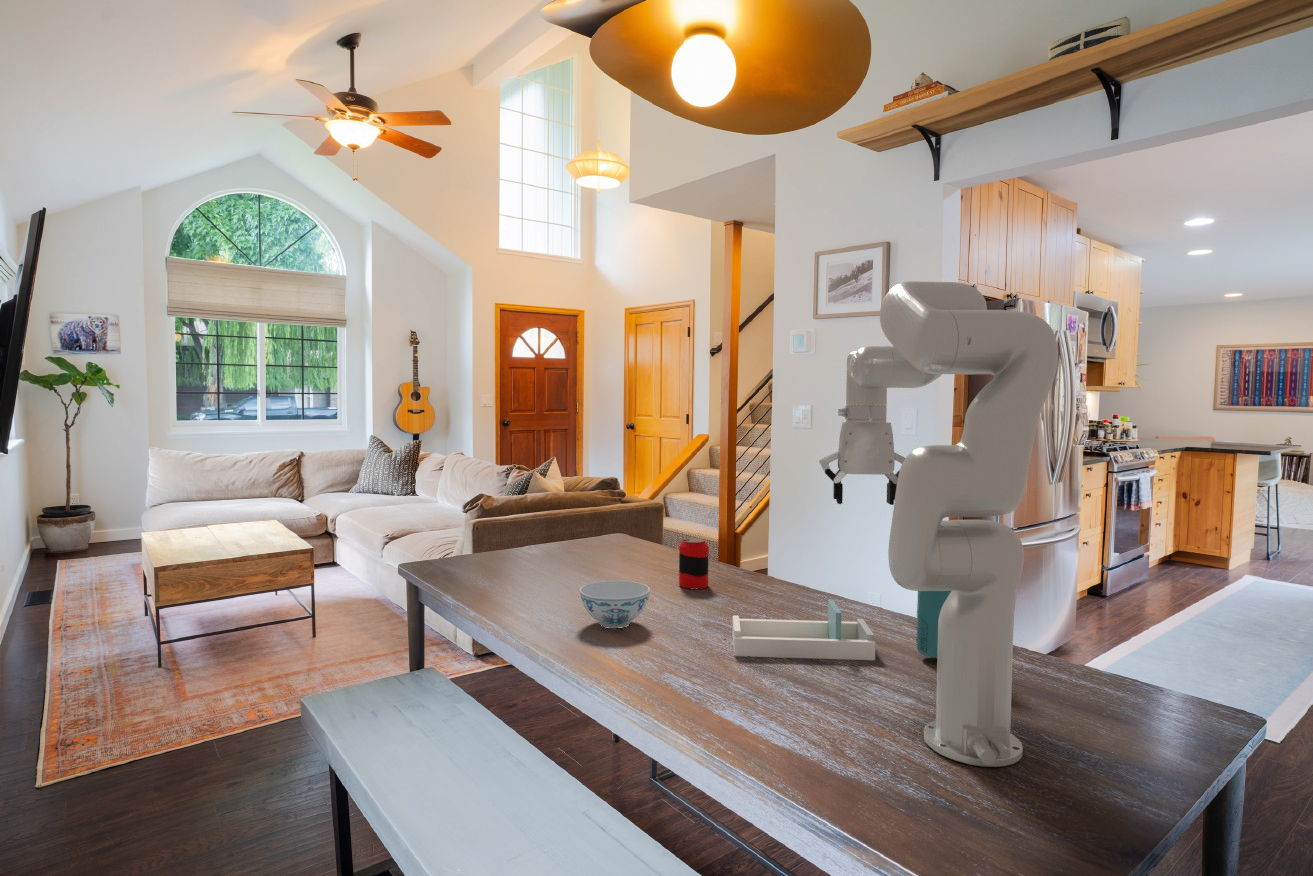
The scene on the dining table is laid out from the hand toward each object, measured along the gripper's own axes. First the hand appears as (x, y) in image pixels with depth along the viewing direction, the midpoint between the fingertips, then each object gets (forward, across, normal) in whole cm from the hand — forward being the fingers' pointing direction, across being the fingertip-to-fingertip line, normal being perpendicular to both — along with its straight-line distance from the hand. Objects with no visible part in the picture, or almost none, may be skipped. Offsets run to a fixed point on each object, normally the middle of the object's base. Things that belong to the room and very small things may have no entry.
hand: (864, 503), depth 139 cm
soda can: (+28, -35, +43) cm, 63 cm away
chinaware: (+28, -50, +9) cm, 58 cm away
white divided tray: (+28, -12, -1) cm, 31 cm away
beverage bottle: (+28, +12, -6) cm, 31 cm away
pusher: (+28, -6, -1) cm, 28 cm away
